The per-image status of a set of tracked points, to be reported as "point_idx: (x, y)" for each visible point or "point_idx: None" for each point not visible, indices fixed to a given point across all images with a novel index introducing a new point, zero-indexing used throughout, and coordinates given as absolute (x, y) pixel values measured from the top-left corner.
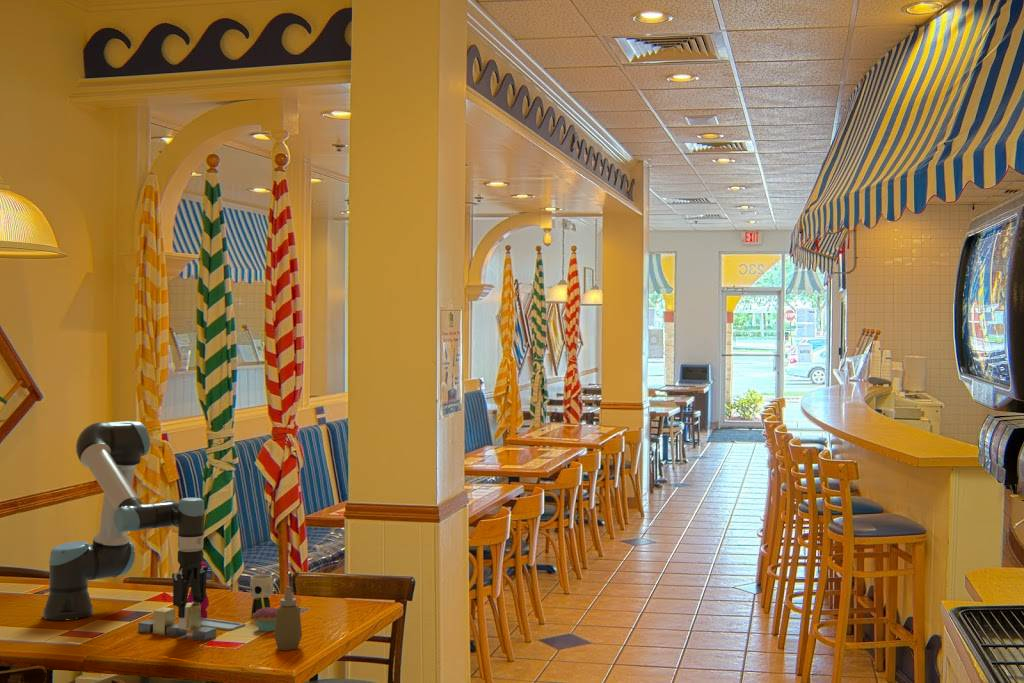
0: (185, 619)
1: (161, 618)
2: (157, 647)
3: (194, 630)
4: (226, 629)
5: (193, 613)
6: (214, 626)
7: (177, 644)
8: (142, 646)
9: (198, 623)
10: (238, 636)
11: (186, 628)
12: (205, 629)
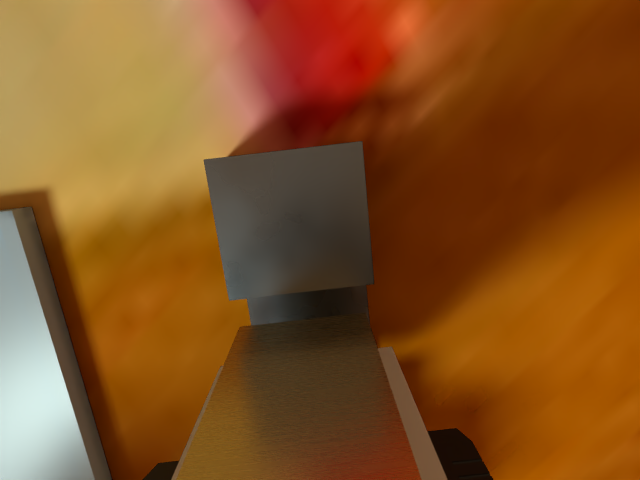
0: (412, 404)
1: None
2: (601, 320)
3: (365, 270)
4: (32, 247)
5: (339, 408)
6: (58, 358)
7: (486, 269)
8: (618, 408)
9: (261, 341)
10: (72, 46)
11: (384, 348)
12: (287, 216)
